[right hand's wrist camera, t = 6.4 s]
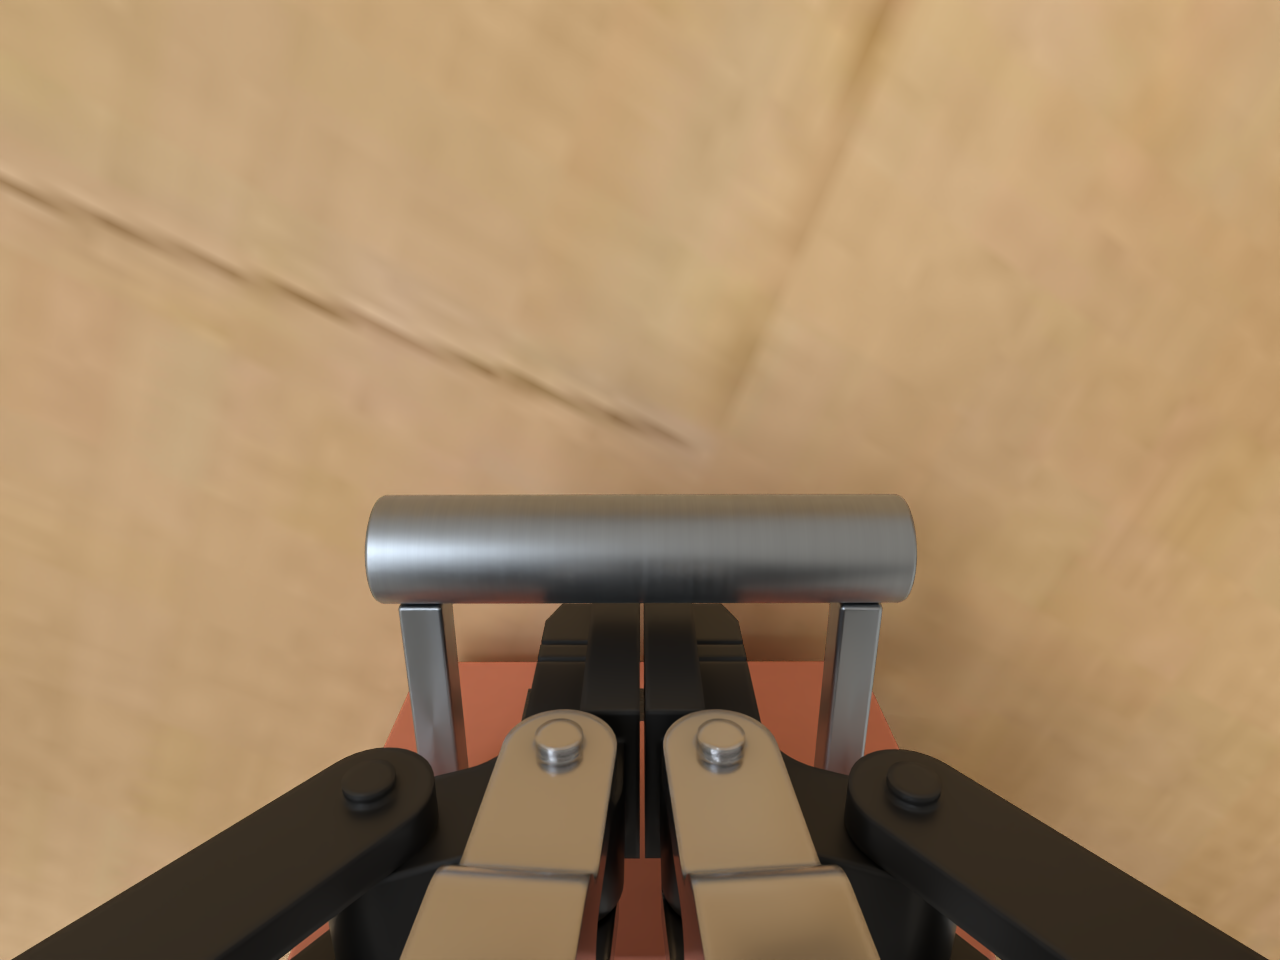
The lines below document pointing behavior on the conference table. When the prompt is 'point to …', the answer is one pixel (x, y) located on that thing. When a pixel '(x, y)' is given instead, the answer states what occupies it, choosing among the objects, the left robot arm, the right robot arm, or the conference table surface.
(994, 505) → the conference table surface
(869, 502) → the drawer
